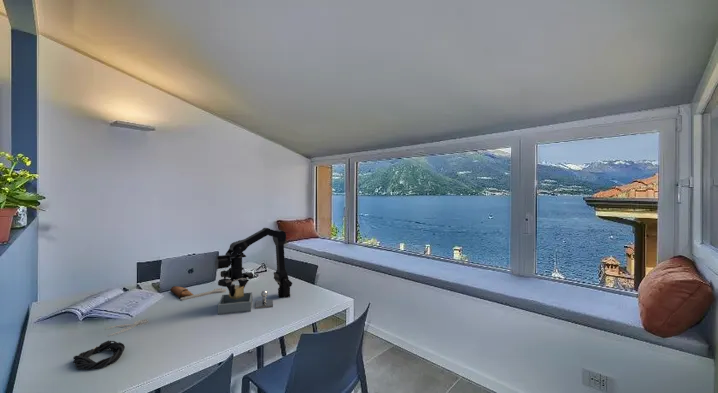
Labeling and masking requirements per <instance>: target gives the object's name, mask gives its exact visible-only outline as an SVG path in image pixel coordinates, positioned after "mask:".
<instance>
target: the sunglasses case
mask: <svg viewBox="0 0 718 393" xmlns="http://www.w3.org/2000/svg"><path fill="white" fill-rule="evenodd" d="M170 292H171V293H172V294H173V295H175V296H176V297H177V298H179V299H180V300H181V298H182V297H187V296H191V295H194V294H193V293H192V292H191V291H190V290H189V289H188V288H187V287H182V286H177V285H176V286H175V285H173V286H171V288H170Z"/></svg>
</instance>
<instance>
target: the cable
mask: <svg viewBox="0 0 718 393" xmlns="http://www.w3.org/2000/svg"><path fill="white" fill-rule="evenodd" d="M110 349H111V350H110ZM125 349H126V347H125V344H124V343H122V342H121V341H119V342H117V341H115V340H106V341H104V342H102V343H100V345H99V346H97V345H96V346H94V347H93V348H91V349H89V350H86V351H82V352H80V353H79V354H78V355H74V356H73V360H74V361H73V364H75V365H74V367H75V368H76V369H77V370H79V369H80V370H81V369H83V370H99V369H103V368H104V367H107V366H110V364H111V365H112V364H114V363H116V362H117V361H118V360H119V359H120V358H121V357H122V355H123V352H124V351H125ZM107 350H110V351H111V352H112V353H113V354H112V355H111V356H109V357H106V358H102V359H101V360H99V361H95V360H93V359H92V358H90V356H92V355H91V354H93V355H95V354H97V353H99V352H98V351H101V352H104V351H107Z"/></svg>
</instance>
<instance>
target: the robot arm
mask: <svg viewBox="0 0 718 393" xmlns="http://www.w3.org/2000/svg"><path fill="white" fill-rule="evenodd" d="M267 236H270V237H272V240H273V243H274V244H275V245H274V246H275V256H276V257H275V258H276V260H275V261H276V271H274V272H273V279H274V281H275V282H276V284H277V285H278V288H277V296H278V298H290V297H291V287H292V286H293V282H292V281H291V280H290V279H289V274H288V272H287V269H286V263H285V262H286V261H285V260H286V258H285V243H286V240H287V233H286V232H285V230H280V229H276V230H274V229H271V228H269V227H263V228H262V229H261V230H258V231H257V232H255V233H253V234H251V235H250V236H248V237H246V238H243V239H240V240H237V241H234V242H231V243H230V244H229V248H228V250H227V251H226V253H225V254H224V255H223V254H222V255H216V256H215V260H214V267H215V269H216V270H219V269H226V268H228V271H226V270H221V271H220V277H221V278H222V279H219V280H218V281H217V286H220V287H222V288H223V287H224V288H227V290H228V293H229V292H230V295H231V297H233V295H234V289H235V285H236V284H235V283H234V282H238V285H240V286H244V288H245V287H246V286H247V284H248V282H249V281H250V280H251V279H254V273H253V272H249V271H245V272H243V270H245V267H243V258H246V257H247V255H246V254H245V253H244V252H245V251H246V250H247V249H248V248H249V247H250V246H252V245H254V243H257V242H259V241H260V240H261V239H263V238H266V237H267Z"/></svg>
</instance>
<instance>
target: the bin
mask: <svg viewBox="0 0 718 393" xmlns="http://www.w3.org/2000/svg"><path fill="white" fill-rule="evenodd" d="M252 304H253V292H244V297H242V298H239V299H236V300H235V299H231V298H229V293H227V294H222V296H221V297H220V299H219V302H218V305H217V315H220V316H221V315H228V314H239V313H247V312H248V313H250V312H251V311H252Z"/></svg>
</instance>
